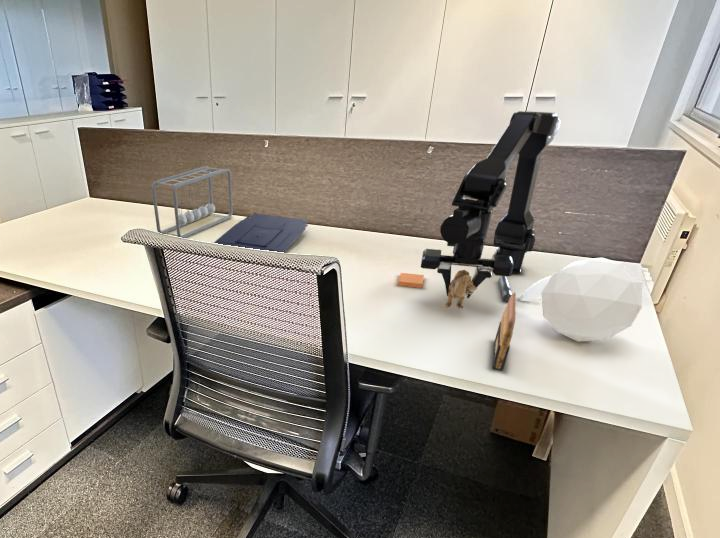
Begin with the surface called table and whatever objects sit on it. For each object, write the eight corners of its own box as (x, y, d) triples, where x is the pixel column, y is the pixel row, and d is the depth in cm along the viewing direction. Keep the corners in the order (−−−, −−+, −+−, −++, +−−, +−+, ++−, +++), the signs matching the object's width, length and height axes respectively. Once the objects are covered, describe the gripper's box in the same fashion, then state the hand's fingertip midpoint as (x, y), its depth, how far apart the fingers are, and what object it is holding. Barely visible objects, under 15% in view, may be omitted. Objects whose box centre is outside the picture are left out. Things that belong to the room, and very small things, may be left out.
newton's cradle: (211, 213, 188) (208, 164, 178) (233, 217, 182) (231, 167, 173) (157, 235, 168) (150, 182, 158) (179, 240, 163) (173, 185, 153)
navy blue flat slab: (314, 228, 164) (314, 218, 161) (275, 270, 144) (275, 258, 142) (250, 220, 174) (250, 210, 172) (206, 257, 155) (205, 247, 152)
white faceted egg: (630, 261, 85) (615, 217, 106) (497, 309, 100) (506, 262, 120) (665, 338, 88) (644, 281, 109) (531, 374, 103) (534, 317, 124)
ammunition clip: (493, 342, 102) (509, 290, 95) (503, 344, 101) (519, 291, 95) (491, 368, 94) (508, 313, 87) (502, 371, 93) (519, 315, 87)
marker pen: (508, 277, 125) (501, 273, 125) (515, 297, 115) (507, 293, 115) (503, 283, 127) (496, 279, 127) (508, 304, 117) (501, 300, 117)
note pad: (423, 279, 130) (424, 274, 129) (422, 288, 125) (422, 283, 124) (399, 276, 132) (400, 272, 131) (397, 285, 127) (398, 281, 126)
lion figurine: (469, 317, 109) (480, 280, 104) (444, 314, 110) (453, 277, 105) (465, 289, 120) (474, 255, 115) (442, 286, 122) (451, 252, 117)
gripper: (516, 223, 109) (499, 286, 117) (428, 217, 115) (418, 278, 123) (522, 239, 100) (502, 307, 109) (426, 232, 106) (415, 297, 115)
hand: (457, 296), depth 114 cm, fingers closed on lion figurine, 4 cm apart
